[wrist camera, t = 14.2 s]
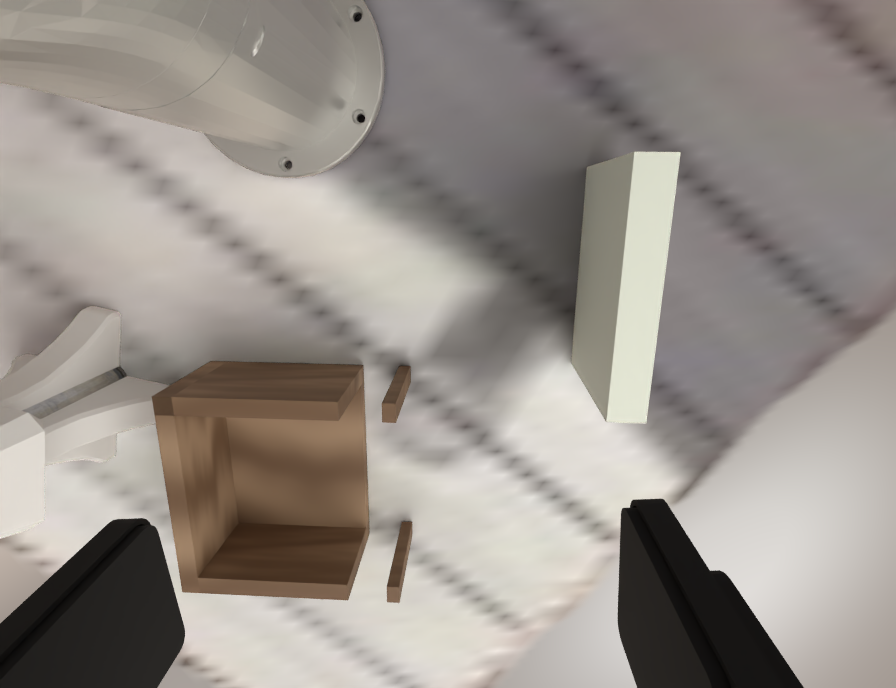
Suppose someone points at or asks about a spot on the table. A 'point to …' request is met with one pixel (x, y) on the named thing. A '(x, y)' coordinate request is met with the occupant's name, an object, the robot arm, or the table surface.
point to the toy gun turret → (65, 411)
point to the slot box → (272, 478)
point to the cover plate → (623, 279)
